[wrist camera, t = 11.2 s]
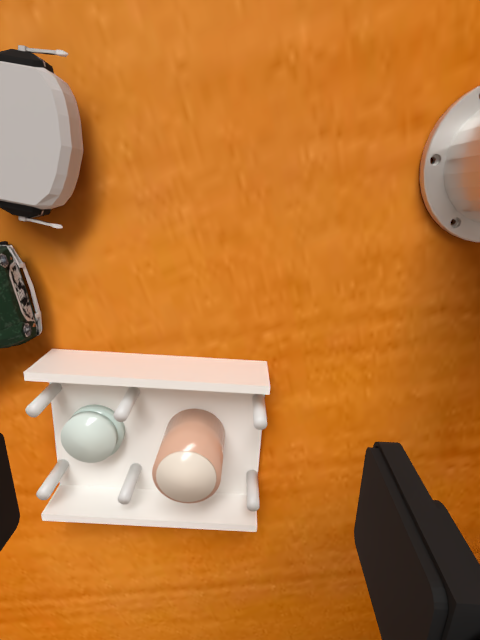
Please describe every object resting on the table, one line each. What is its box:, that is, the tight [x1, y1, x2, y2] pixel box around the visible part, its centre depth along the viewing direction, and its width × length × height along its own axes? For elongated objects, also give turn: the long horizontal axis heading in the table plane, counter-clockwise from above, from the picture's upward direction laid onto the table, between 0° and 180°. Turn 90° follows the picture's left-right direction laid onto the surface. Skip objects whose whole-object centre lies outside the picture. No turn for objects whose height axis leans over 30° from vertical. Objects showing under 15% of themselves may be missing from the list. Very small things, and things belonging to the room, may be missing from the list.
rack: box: [24, 349, 270, 532], centre depth 38 cm, size 21×16×6 cm
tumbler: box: [152, 409, 225, 503], centre depth 36 cm, size 6×6×6 cm
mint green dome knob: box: [61, 405, 125, 463], centre depth 38 cm, size 6×6×2 cm
